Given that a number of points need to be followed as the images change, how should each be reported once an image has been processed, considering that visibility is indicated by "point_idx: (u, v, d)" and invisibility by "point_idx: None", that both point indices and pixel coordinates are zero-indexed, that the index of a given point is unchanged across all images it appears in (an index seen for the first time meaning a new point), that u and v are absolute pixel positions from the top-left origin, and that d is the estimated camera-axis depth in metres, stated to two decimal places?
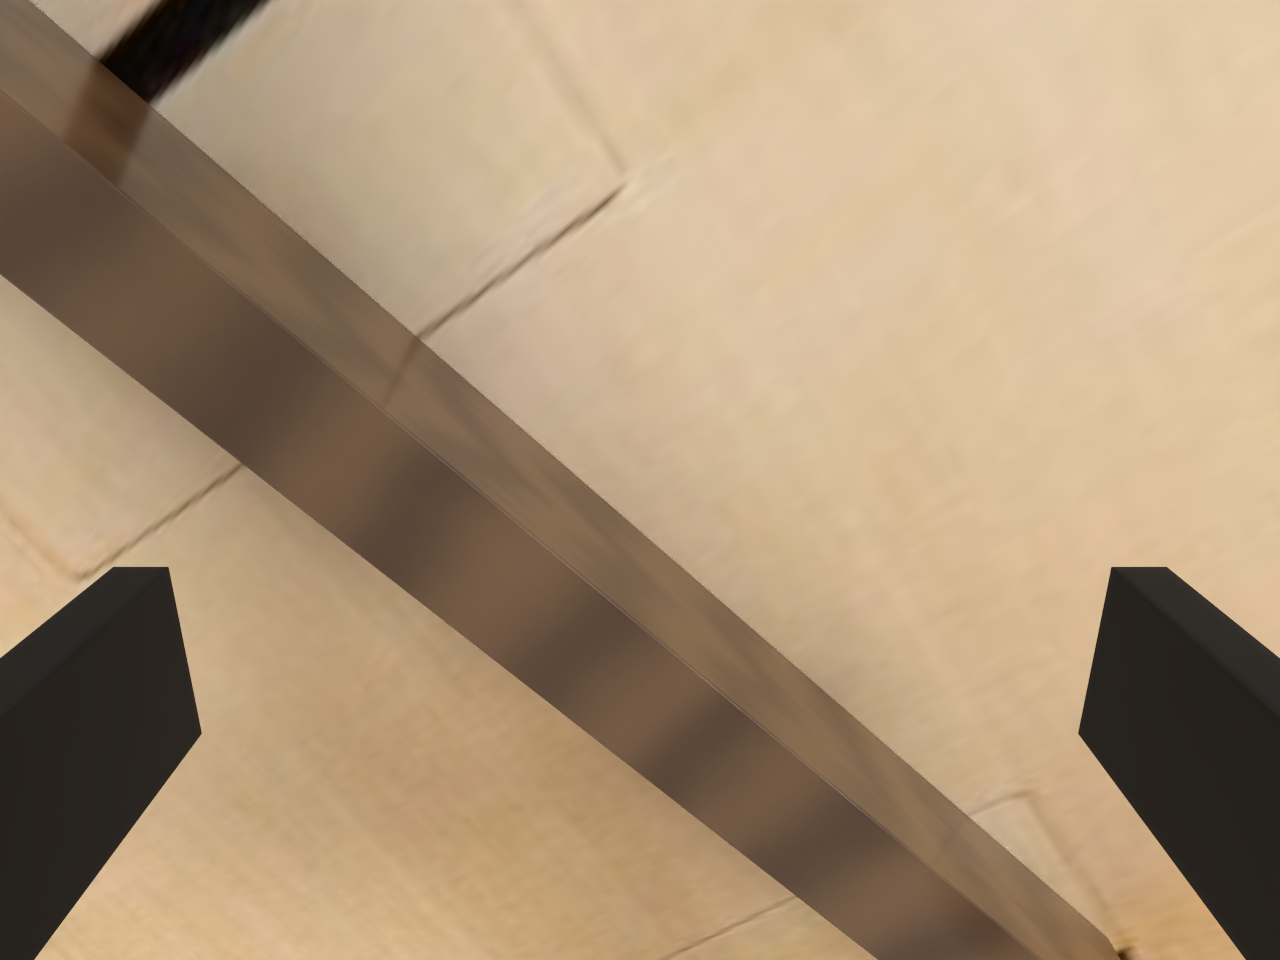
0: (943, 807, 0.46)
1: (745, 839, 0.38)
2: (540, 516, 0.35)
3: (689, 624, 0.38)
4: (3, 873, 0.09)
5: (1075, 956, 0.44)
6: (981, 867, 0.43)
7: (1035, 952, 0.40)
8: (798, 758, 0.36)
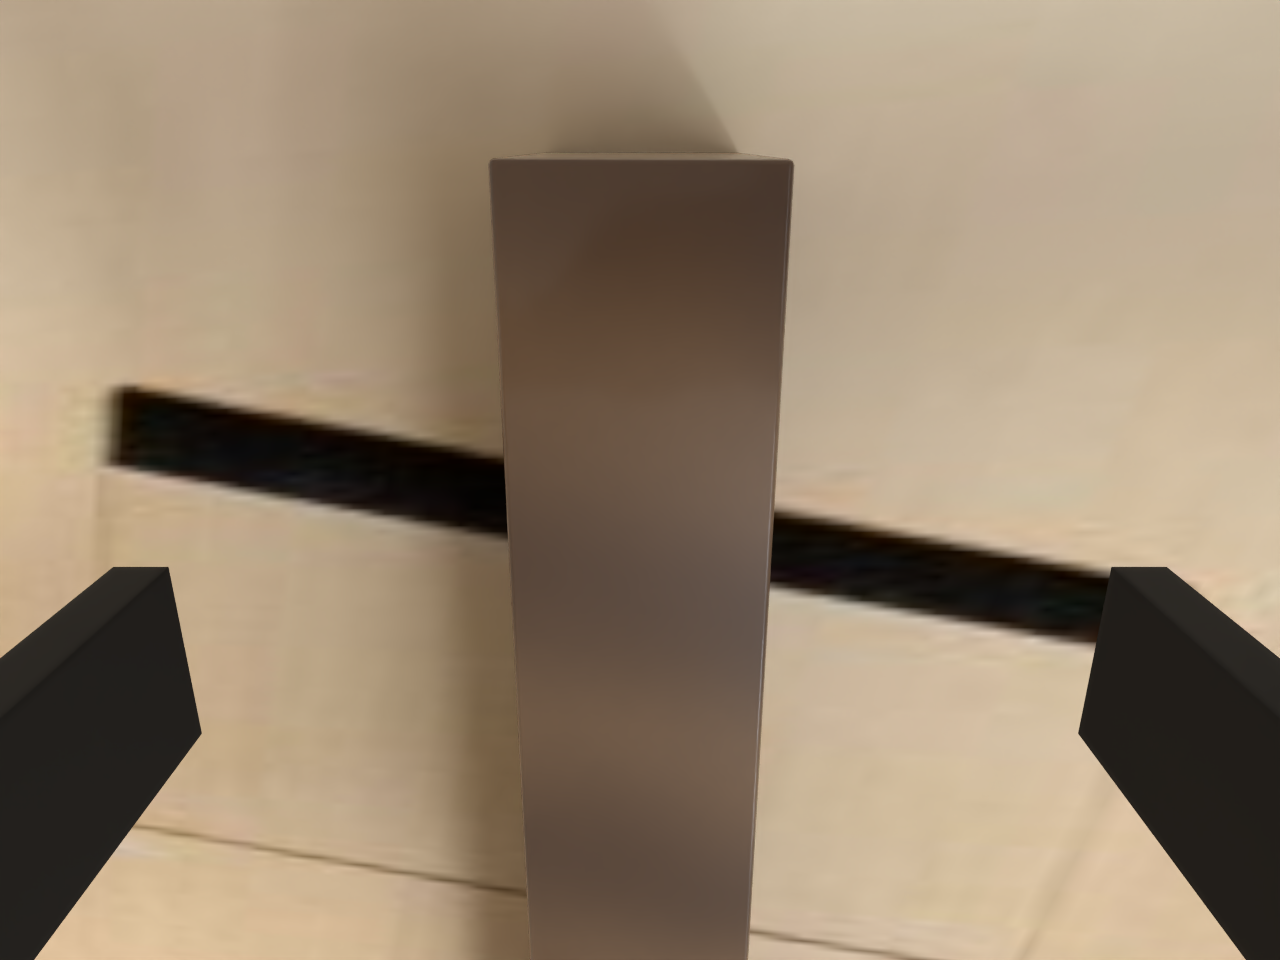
0: None
1: None
2: None
3: None
4: (3, 873, 0.09)
5: None
6: None
7: None
8: None
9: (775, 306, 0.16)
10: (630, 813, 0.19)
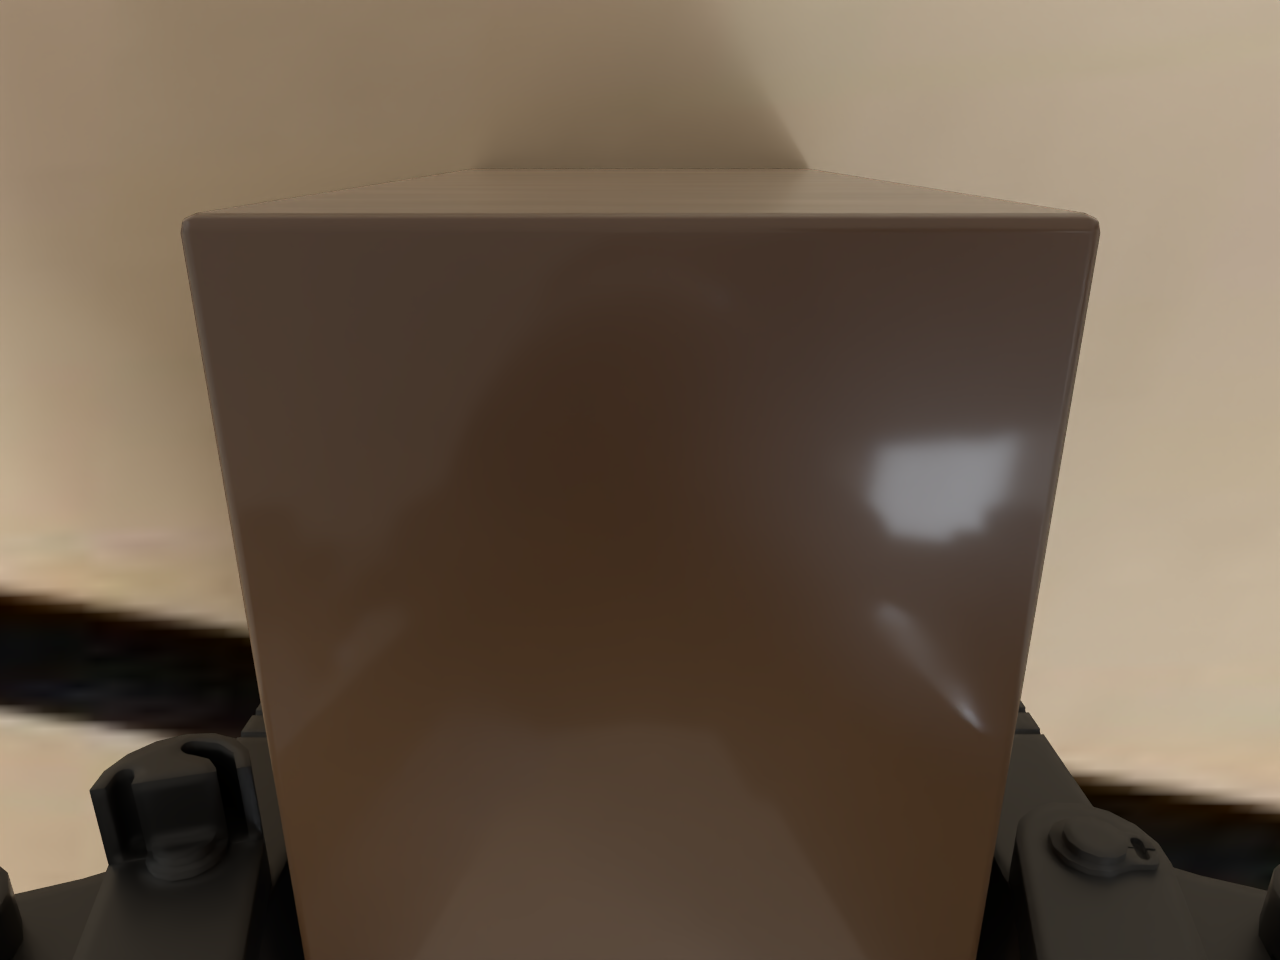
0: None
1: None
2: None
3: None
4: None
5: None
6: None
7: None
8: None
9: (1010, 611, 0.06)
10: None
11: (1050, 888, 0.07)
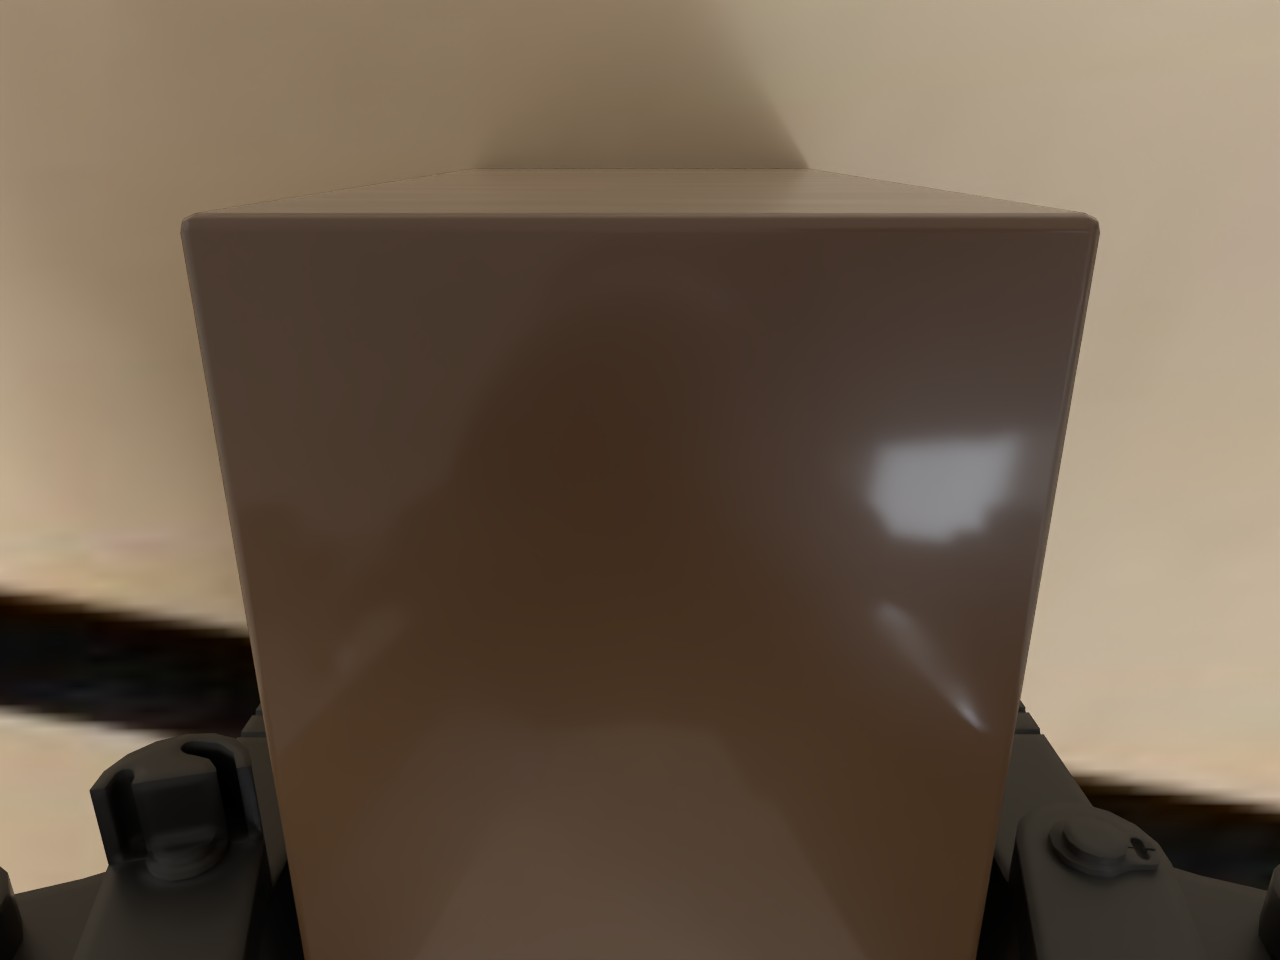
0: None
1: None
2: None
3: None
4: None
5: None
6: None
7: None
8: None
9: (1010, 611, 0.06)
10: None
11: (1050, 888, 0.07)
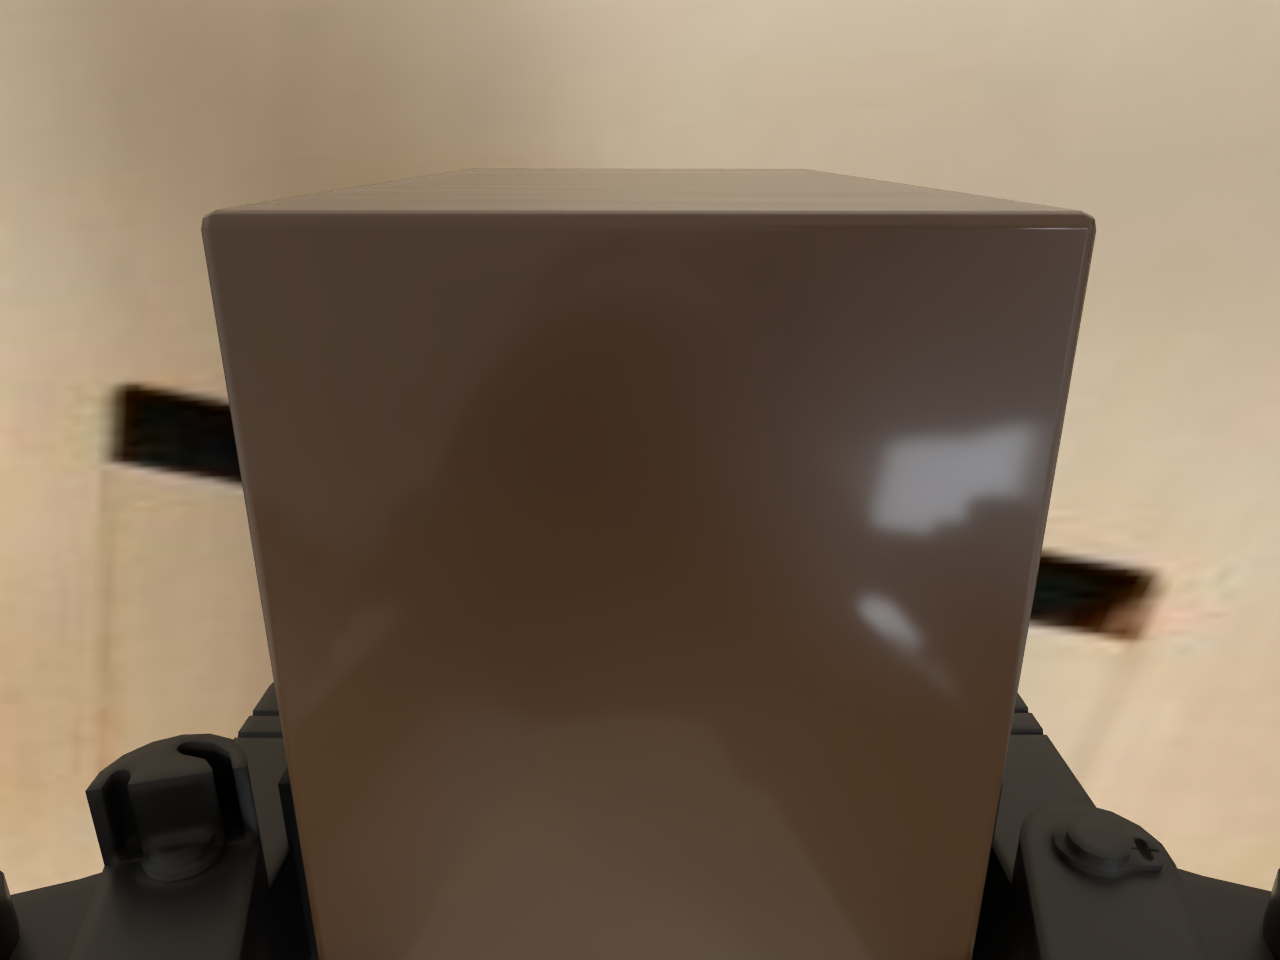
0: None
1: None
2: None
3: None
4: None
5: None
6: None
7: None
8: None
9: (1009, 598, 0.06)
10: None
11: (1054, 889, 0.07)
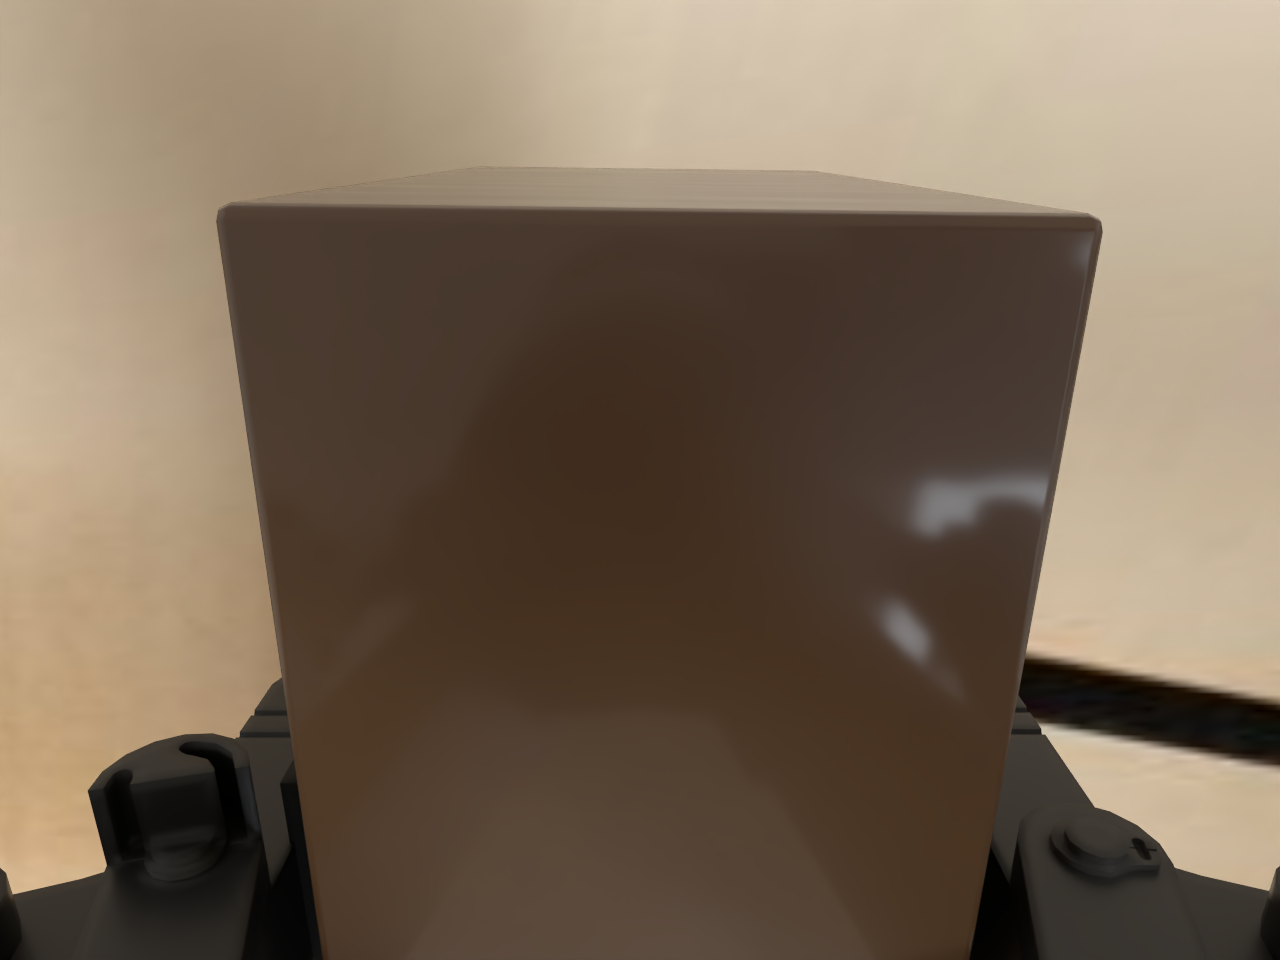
0: None
1: None
2: None
3: None
4: None
5: None
6: None
7: None
8: None
9: (1011, 598, 0.06)
10: None
11: (1052, 889, 0.07)
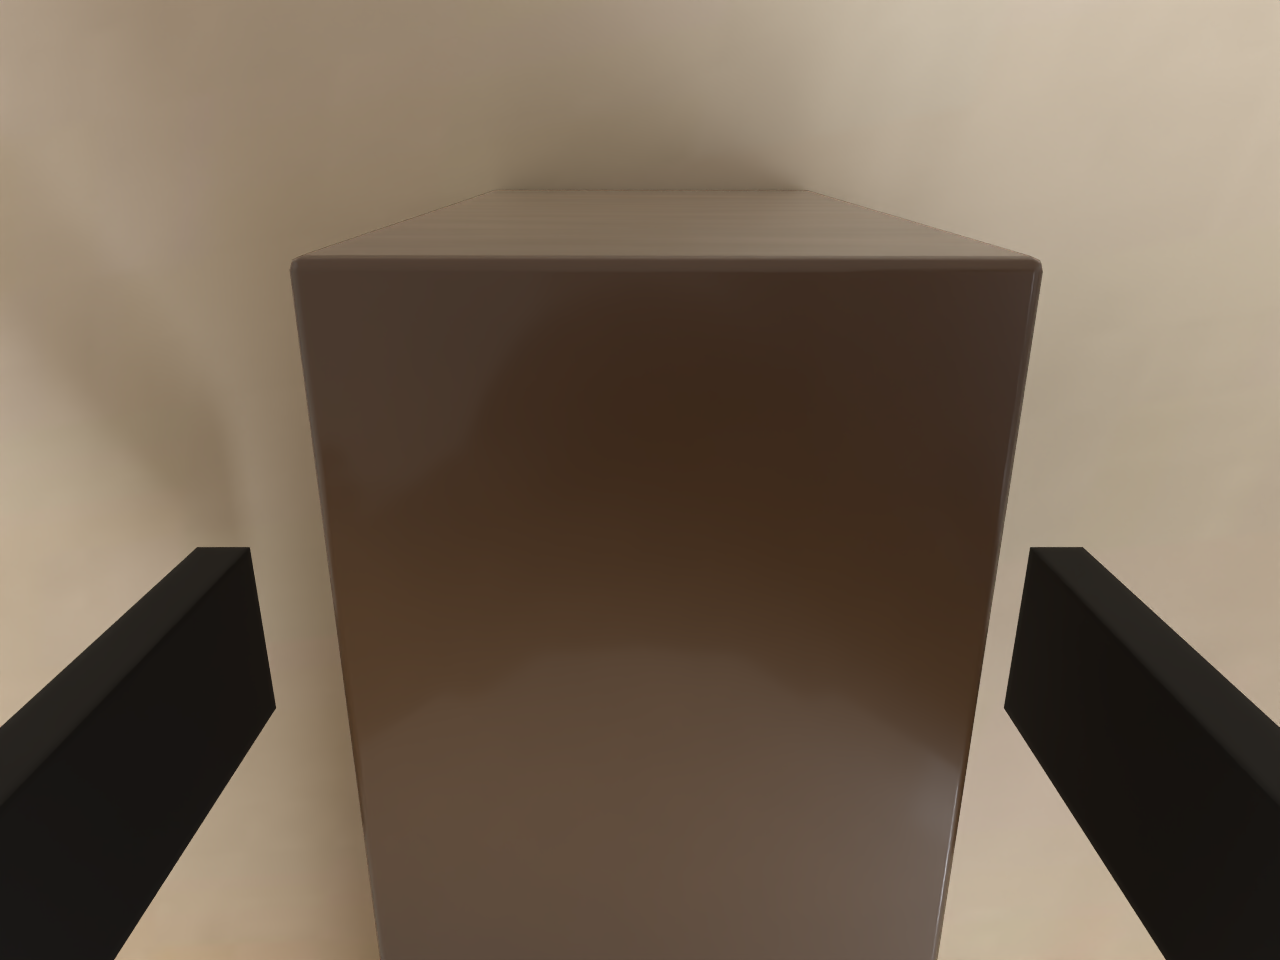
0: None
1: None
2: None
3: None
4: (121, 828, 0.10)
5: None
6: None
7: None
8: None
9: (974, 586, 0.07)
10: None
11: None
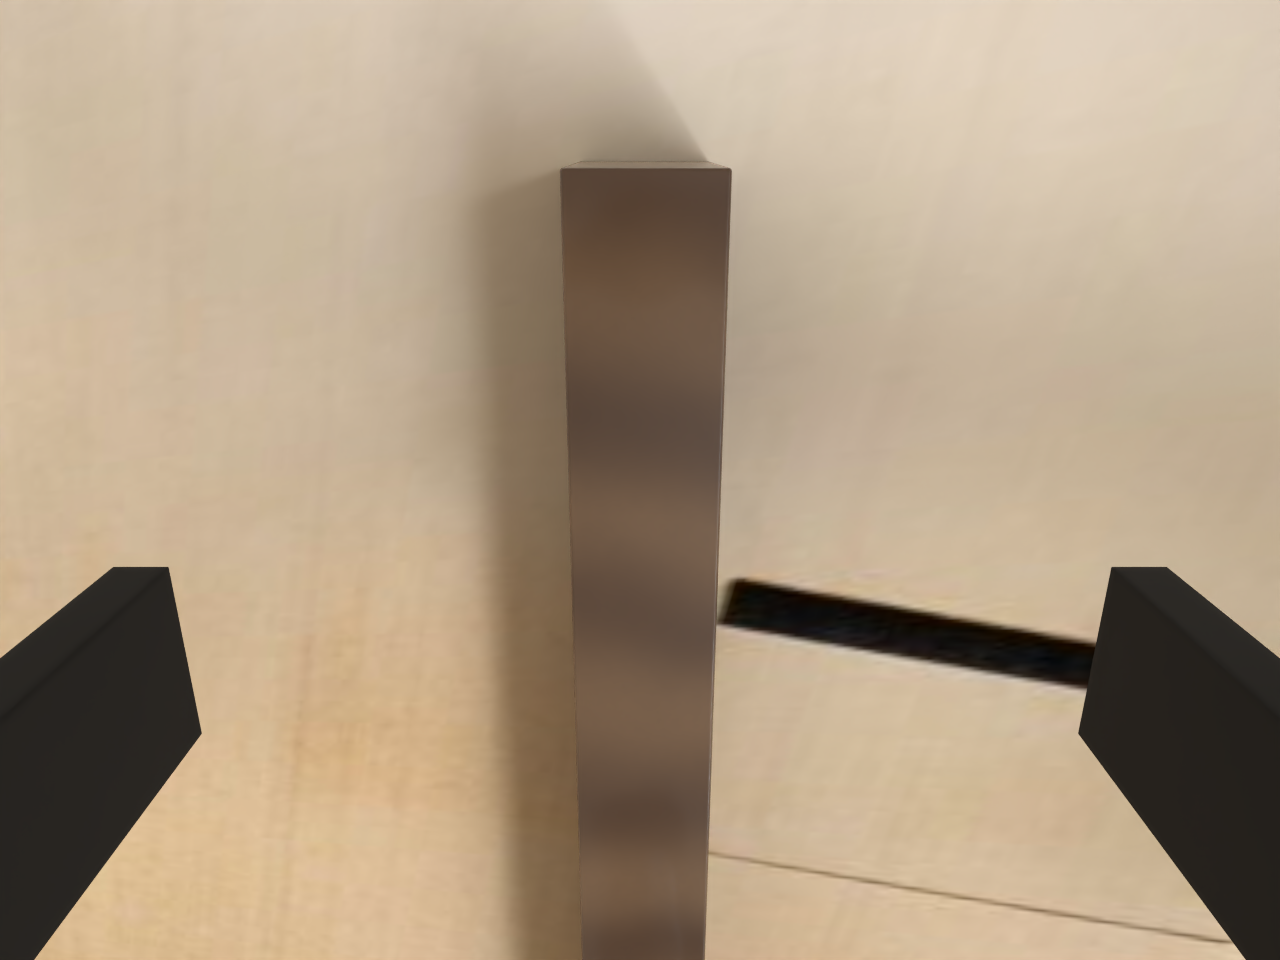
0: None
1: None
2: None
3: None
4: (3, 873, 0.09)
5: None
6: None
7: None
8: None
9: (722, 252, 0.27)
10: (638, 575, 0.31)
11: None
